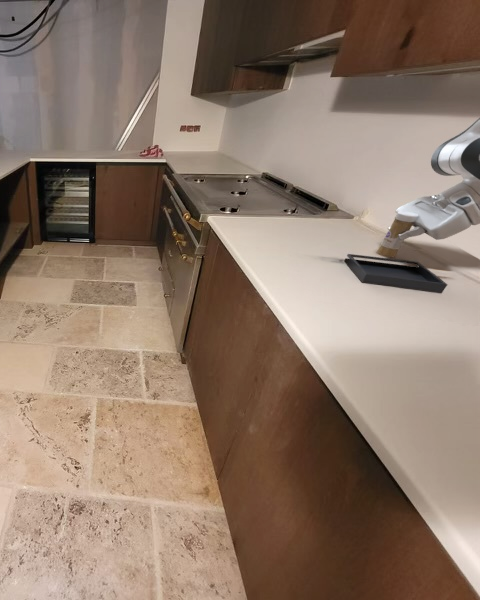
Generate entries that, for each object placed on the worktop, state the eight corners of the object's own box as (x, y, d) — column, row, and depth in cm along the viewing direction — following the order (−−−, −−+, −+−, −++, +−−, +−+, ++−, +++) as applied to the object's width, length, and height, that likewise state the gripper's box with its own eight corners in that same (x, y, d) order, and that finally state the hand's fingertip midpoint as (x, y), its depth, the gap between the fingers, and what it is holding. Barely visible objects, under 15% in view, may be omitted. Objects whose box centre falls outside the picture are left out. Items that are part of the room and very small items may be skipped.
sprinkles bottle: (371, 253, 100) (393, 210, 93) (385, 253, 100) (409, 210, 93) (383, 259, 96) (407, 215, 89) (398, 259, 96) (423, 215, 89)
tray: (413, 269, 93) (418, 261, 92) (441, 293, 82) (447, 284, 80) (344, 261, 98) (347, 253, 97) (362, 282, 86) (366, 274, 85)
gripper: (428, 186, 95) (373, 215, 102) (478, 204, 78) (408, 238, 86) (437, 202, 96) (382, 230, 104) (488, 224, 79) (418, 255, 87)
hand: (394, 234), depth 94 cm, fingers closed on sprinkles bottle, 4 cm apart
